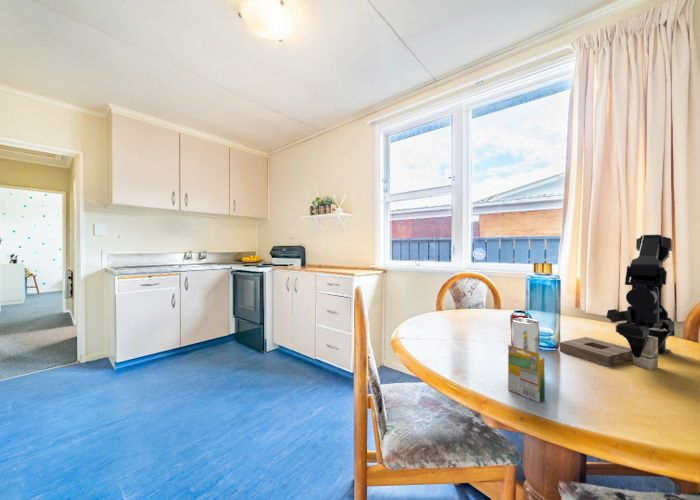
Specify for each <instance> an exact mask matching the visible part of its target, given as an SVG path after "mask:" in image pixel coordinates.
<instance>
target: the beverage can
mask: <svg viewBox="0 0 700 500" xmlns="http://www.w3.org/2000/svg"><path fill="white" fill-rule="evenodd" d="M514 318H528V315H527V314H526V313H522V312H513V313H511V315H510V331H511V332H510V336H511V337H510V340H511V341H510V342H511V346H513V342H512V322H513V319H514ZM528 319H529V318H528Z"/></svg>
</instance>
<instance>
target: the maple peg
mask: <svg viewBox="0 0 700 500" xmlns="http://www.w3.org/2000/svg"><path fill="white" fill-rule="evenodd" d="M648 337H649V340H648V342H647V344H646V346H645V348H644V350H643V352H642V354H641V356H640V358H636V357H634V355H633V360H632V365H634V366H637V367H640V368H643V369H647V370H654V369H657V368H659V362H658V361H659V353H658V338H657V337H653V336H648Z"/></svg>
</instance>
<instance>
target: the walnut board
mask: <svg viewBox="0 0 700 500" xmlns="http://www.w3.org/2000/svg"><path fill="white" fill-rule="evenodd" d="M559 352H563V353H565V354H569V355H572V356H576V357H578V358H582V359H583V360H584V359H585V360H588V361H592V362H594V363H597V364H600V365H603V366H607V367H611V366H614V365H618V364H622V363H625V362H630V361H633V353H632V350H631V348H630V347H627V346H625V345H620V344H616V343H612V342H608V341H604V340H601V339H596V338H593V337H588V336H584V337H580V338H575V339H568V340H564V341H559Z"/></svg>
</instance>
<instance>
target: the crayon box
mask: <svg viewBox="0 0 700 500" xmlns="http://www.w3.org/2000/svg"><path fill="white" fill-rule="evenodd" d="M507 350H508V352H507V354H508V355H507V356H508V357H507V362H508V363H507V373H508V374H507V376H508V377H507V389H508V391H509V392H513V393H515V394H518V395H520V396H522V397H525V398H528V399H530V400H532V401H534V402H537V403H541V402H543V401H544V400H545V399H546V397H545V396H546V395H545V392H546V390H545V387H546V385H545V381H546V379H545V378H546V377H545V370H546V369H545V358H542V357H540V353H539V352H538V353H536V352H532V351H528V350H525V349H521V348H518V347H514V346H512V345H510V344H508V346H507ZM517 350H519V351H524V352H526V353H529V354H530V355H528V354H525V353H521V352H518V351H517Z"/></svg>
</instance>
